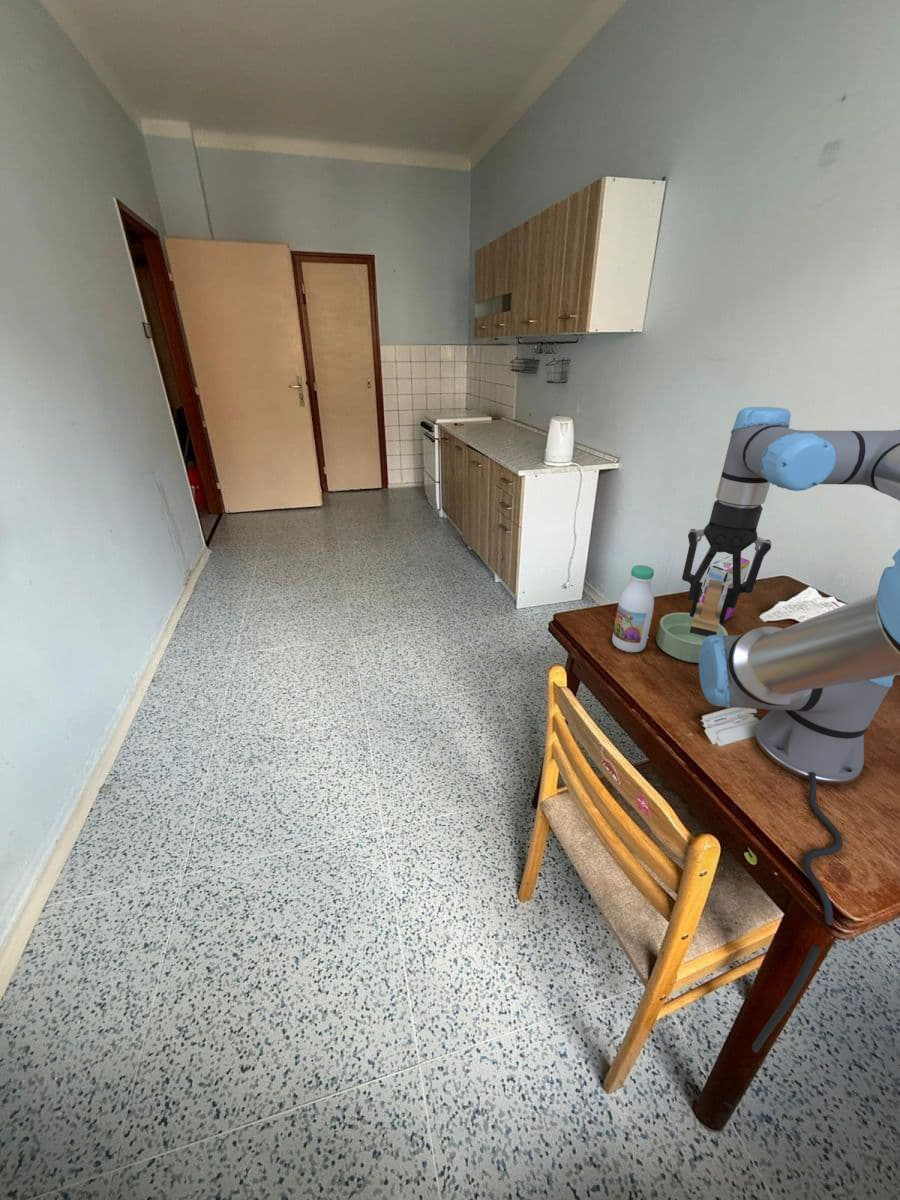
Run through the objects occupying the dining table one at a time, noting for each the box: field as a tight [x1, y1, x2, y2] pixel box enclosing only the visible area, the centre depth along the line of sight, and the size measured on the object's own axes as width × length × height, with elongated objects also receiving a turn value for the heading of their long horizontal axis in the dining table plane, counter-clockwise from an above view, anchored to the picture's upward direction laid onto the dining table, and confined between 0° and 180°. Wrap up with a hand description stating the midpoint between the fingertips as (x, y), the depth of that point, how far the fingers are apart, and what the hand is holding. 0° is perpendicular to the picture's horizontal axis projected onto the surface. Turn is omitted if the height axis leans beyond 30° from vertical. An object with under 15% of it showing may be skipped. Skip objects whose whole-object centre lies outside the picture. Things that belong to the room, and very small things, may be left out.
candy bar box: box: [698, 554, 751, 625], centre depth 119 cm, size 11×5×16 cm, turn 126°
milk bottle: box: [611, 564, 655, 653], centre depth 109 cm, size 8×8×20 cm
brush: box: [690, 579, 723, 637], centre depth 92 cm, size 8×4×9 cm, turn 149°
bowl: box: [655, 612, 729, 664], centre depth 111 cm, size 14×14×6 cm
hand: (706, 616), depth 94 cm, fingers closed on brush, 4 cm apart
